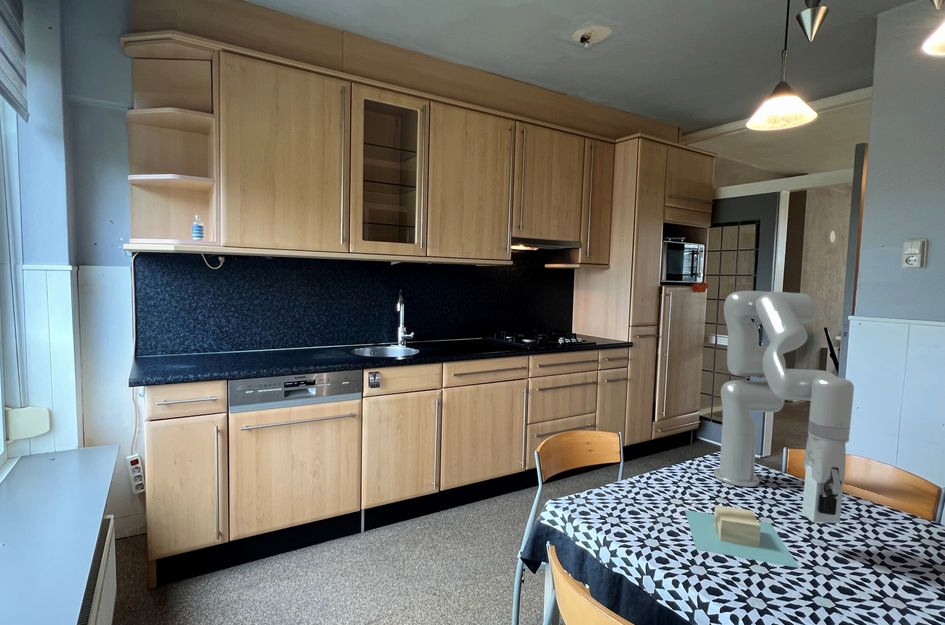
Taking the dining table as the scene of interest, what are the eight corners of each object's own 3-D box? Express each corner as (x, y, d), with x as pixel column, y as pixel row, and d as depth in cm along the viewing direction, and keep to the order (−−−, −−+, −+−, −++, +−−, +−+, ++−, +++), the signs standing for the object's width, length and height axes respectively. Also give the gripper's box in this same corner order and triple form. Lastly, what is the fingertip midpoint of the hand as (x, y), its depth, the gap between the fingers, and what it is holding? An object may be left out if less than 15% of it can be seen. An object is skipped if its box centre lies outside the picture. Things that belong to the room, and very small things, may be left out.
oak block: (713, 524, 117) (715, 505, 117) (750, 530, 115) (751, 510, 114) (720, 540, 109) (721, 519, 109) (759, 547, 107) (760, 526, 107)
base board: (684, 514, 125) (684, 509, 124) (770, 527, 119) (770, 523, 118) (695, 554, 105) (696, 549, 105) (799, 573, 100) (799, 567, 99)
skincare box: (826, 514, 111) (831, 465, 110) (841, 524, 107) (845, 472, 106) (800, 513, 111) (804, 464, 110) (813, 523, 107) (818, 471, 106)
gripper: (796, 418, 116) (789, 488, 118) (824, 441, 100) (816, 522, 102) (831, 422, 114) (824, 493, 116) (866, 446, 98) (858, 529, 100)
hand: (821, 506), depth 109 cm, fingers closed on skincare box, 5 cm apart
